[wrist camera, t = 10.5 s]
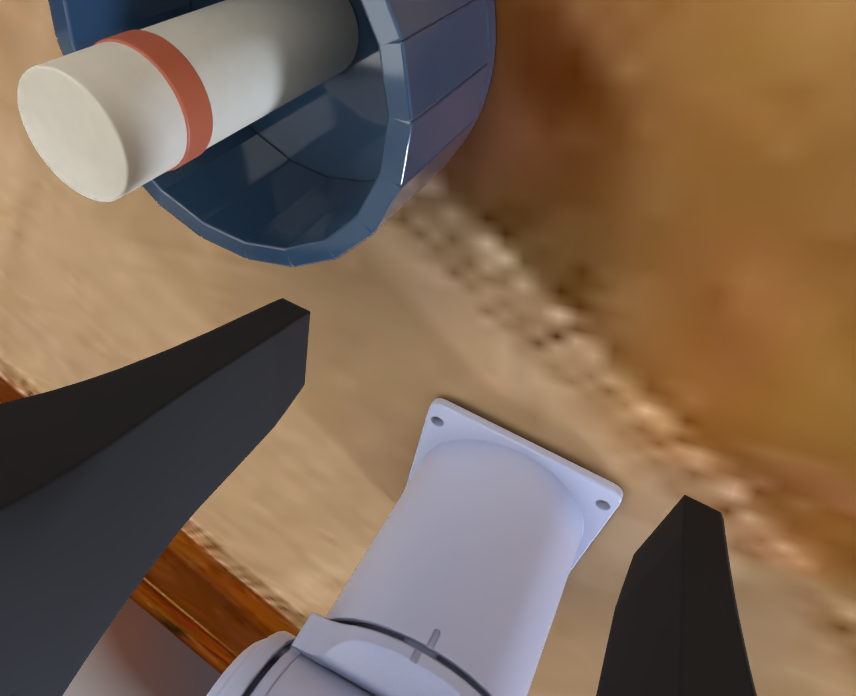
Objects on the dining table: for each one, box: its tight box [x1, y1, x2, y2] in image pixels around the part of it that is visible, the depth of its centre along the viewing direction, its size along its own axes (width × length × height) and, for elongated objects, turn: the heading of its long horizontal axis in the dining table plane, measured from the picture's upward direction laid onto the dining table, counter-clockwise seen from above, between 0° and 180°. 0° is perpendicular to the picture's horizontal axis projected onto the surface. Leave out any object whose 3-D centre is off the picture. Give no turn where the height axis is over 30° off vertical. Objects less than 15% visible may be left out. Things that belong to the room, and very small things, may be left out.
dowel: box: [17, 0, 359, 202], centre depth 15 cm, size 3×3×8 cm
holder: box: [48, 0, 496, 267], centre depth 17 cm, size 10×10×5 cm
